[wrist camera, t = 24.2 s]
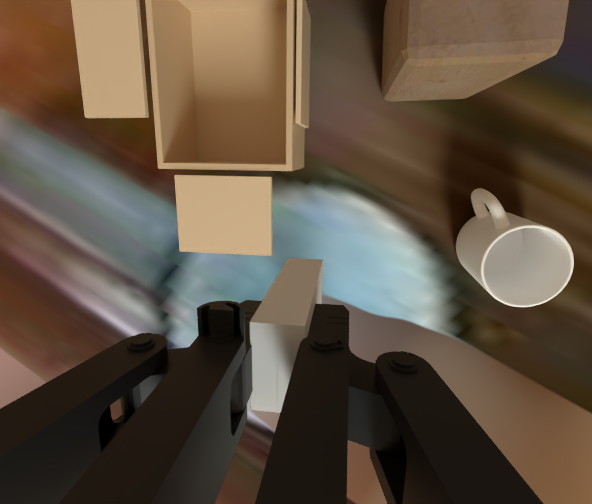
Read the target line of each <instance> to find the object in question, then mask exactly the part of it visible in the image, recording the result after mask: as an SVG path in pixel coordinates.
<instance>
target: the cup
mask: <svg viewBox="0 0 592 504" xmlns="http://www.w3.org/2000/svg"><path fill="white" fill-rule="evenodd" d="M471 202H472V205H473V208H474V211H475V214H476V216H474V217H473V218H471V219H470V220H469V221H468V222H466V223H465V225H464V226H463V227H462V228H461V230H460V232H459V234H458V237H457V240H456V253H457V256H458V259H459V261H460V263H461V264H462V266H463V267H464V268H465V269H466V270H467V271H468V272H469V273H470V274H471V275H472V276H473V277H474V278H475V279H476V280H477V281H478V282H479V283H480V284H481V285H482V286H483V287H484V288H485V289H486V290H487V291H488V292H489V293H490V294H491V295H492V296H493V297H494V298H495V299H497V300H498V301H500V302H502V303H504V304H507V305H510V306H515V307H530V306H535V305H539V304H542V303H544V302H547V301H548V300H550V299H552V298H553V297H555V296H556V295H557V294H559V293H560V292H561V291H562V290H563V288H564V287H565V286H566V284H567V283H568V281H569V279H570V277H571V274H572V271H573V265H574V259H573V253H572V250H571V247H570V245H569V244H568V242H567V241H566V239H565V238H564V237H563V236H562V235H561V234H559V233H558V232H557V231H555V230H553V229H551V228H549V227H546V226H543V225H541V224H538V223H535V222H533V221H530V220H527V219H524V218H522V217H519V216H516V215H514V214H511V213H508V212H505V211H504V209H503V207H502V205H501V203H500V202H499V201H498V199H497V198H496V197H495V196H494V195H493V194H491V193H490V192H488V191H487V190H485V189H482V188H478V189H475V190H474V191H473V192H472V194H471ZM484 203H485V204H486V206H487V207H488V209H489V211H487V209H486V207H485V204H484Z"/></svg>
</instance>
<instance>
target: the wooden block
mask: <svg viewBox="0 0 592 504" xmlns="http://www.w3.org/2000/svg"><path fill="white" fill-rule="evenodd" d="M568 3H569V0H387V2H386V7H385V11H384V31H383V59H382V88H381V93H382V95H383V98H384V99H385V100H388V101H416V100H443V99H465V98H467V97H470V96H472V95H474V94H476V93H478V92H480V91H482V90H484V89H486V88H488V87H490V86H492V85H495V84H497V83H499V82H501V81H503V80H505V79H507V78H509V77H511V76H513V75H515V74H517V73H519V72H521V71H523V70H525V69H527V68H530V67H532V66H534V65H536V64H538V63H540V62H542V61H544V60H546V59H548V58H550V57H552V56H554V55H556V54H557V52H558V50H559V48H560V46H561V44H562V42H563V38H564V31H565V24H566V17H567V10H568Z"/></svg>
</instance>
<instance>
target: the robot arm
mask: <svg viewBox="0 0 592 504" xmlns="http://www.w3.org/2000/svg"><path fill="white" fill-rule="evenodd" d="M322 274H323V260H317V259H297V258H288V260H287V261H286V263H285V265H284V266H283V268H282V270H281V271H280V273H279V274H278V276H277V278H276V279H275V281H274V283H273V284H272V286H271V288H270V289H269V291H268V293H267V294H266V296H265V298H264V299H263V301H251V300H246V301H244V302H242V303H240V304H239V303H237V302H232V301H215V302H209V303H206V304H203V305H201V306H200V307H198V308H197V315H198V332H199V336H198V337H197V338H196V340H195V341H194V342H193V343H192V344H191V346H190V347H187V348H178V349H168V342H167V339H166V338H165V337H164V336H162V335H159V334H152V333H146V334H145V333H141V334H138V335H135V336H131V337H129V338H126V339H124V340H122V341H120V342H118V343H117V344H115V345H113V346H111V347H109V348H108V349H106V350H104V351H102V352H101V353H99V354H97V355H95V356H93V357H92V358H90V359H88V360H86V361H85V362H83V363H81V364H79V365H77V366H76V367H74V368H72V369H70V370H69V371H67V372H65V373H63V374H61V375H60V376H58V377H56V378H54V379H53V380H51V381H49V382H47V383H45V384H44V385H42V386H40V387H38V388H37V389H35V390H33V391H31V392H30V393H28V394H26V395H24V396H22V397H21V398H19V399H17V400H16V401H13V402H12V403H10V404H8V405H6V406H5V407H3V408H1V409H0V504H215V501H216V499H217V496H218V494H219V491H220V489H221V486H222V483H223V481H224V478H225V476H226V473H227V471H228V468H229V465H230V463H231V460H232V458H233V455H234V453H235V450H236V447H237V445H238V442H239V440H240V437H241V434H242V432H243V429H244V427H245V424H246V422H247V402H248V400H249V398H250V395H251V410H259V411H269V412H279V413H280V417H279V420H278V424H277V427H276V431H275V434H274V438H273V441H272V445H271V449H270V452H269V456H268V459H267V463H266V467H265V470H264V474H263V477H262V481H261V484H260V488H259V492H258V495H257V499H256V502H255V504H346V496H347V441H348V440H350V441H353V442H356V443H358V444H361V445H364V446H366V447H369V448H370V458H371V461H372V463H373V466H374V469H375V471H376V474H377V476H378V479H379V482H380V485H381V488H382V490H383V493H384V496H385V498H386V501H387V504H543V503H542V501H540V499H539V498H538V497H537V495H536V494H535V493H534V492H533V490H532V489H531V488H530V487H529V485H528V484H527V483H526V482H525V481H524V479H523V478H522V477H521V476H520V474H519V473H518V472H517V471H516V470H515V468H514V467H513V466H512V465H511V463H510V462H509V461H508V460H507V458H506V457H505V456H504V455H503V454H502V452H501V451H500V450H499V449H498V447H497V446H496V445H495V444H494V443H493V441H492V440H491V439H490V438H489V436H488V435H487V434H486V433H485V431H484V430H483V429H482V428H481V427H480V425H479V424H478V423H477V422H476V420H475V419H474V418H473V417H472V415H471V414H470V413H469V412H468V411H467V409H466V408H465V407H464V406H463V404H462V403H461V402H460V401H459V399H458V398H457V397H456V396H455V395H454V393H453V392H452V391H451V390H450V388H449V387H448V386H447V385H446V384H445V382H444V381H443V380H442V379H441V377H440V376H439V375H438V374H437V372H436V371H435V370H434V369H433V368H432V366H431V365H430V364H429V363H428V362H427V361H425V360H424V359H423V358H421V357H419V356H416V355H414V354H412V353H407V352H403V351H401V352H388V353H384V354H382V355H380V356H379V357H378V358H377V360H376V364H375V363H372V362H368V361H365V360H362V359H360V358H358V357H357V356H355V355H354V354H353V353H351V351H350V349H349V311H348V310H347V309H346V308H345V307H344V306H343V305H330V304H322ZM119 398H120V401H121V410H122V415H121V416H120V417H118V418H117V419H115V420H112V418H111V411H110V405H111V404H112V403H114V402H115V401H116V400H118V399H119Z"/></svg>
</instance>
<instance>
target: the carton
mask: <svg viewBox="0 0 592 504" xmlns="http://www.w3.org/2000/svg"><path fill="white" fill-rule="evenodd" d="M145 4H146V17H147V30H148V43H149V56H150V69H151V82H152V95H153V108H154V121H155V134H156V147H157V160H158V169H207V170H261V171H294V170H297V169H301V168H304V145H305V128H309V84H310V32H311V18H310V14H309V11H308V8H307V2H306V0H145Z"/></svg>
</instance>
